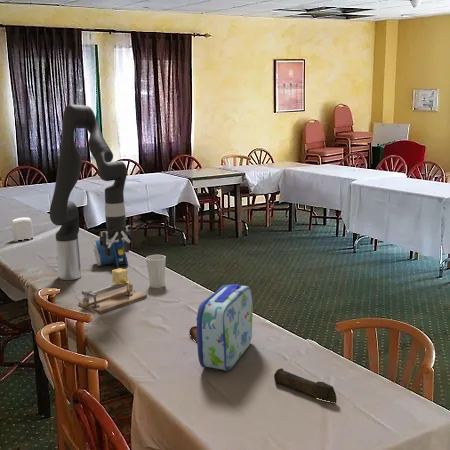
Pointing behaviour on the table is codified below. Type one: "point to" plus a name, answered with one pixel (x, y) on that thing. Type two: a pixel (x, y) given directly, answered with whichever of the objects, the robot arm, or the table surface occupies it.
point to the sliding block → (120, 277)
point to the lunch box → (224, 326)
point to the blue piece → (116, 253)
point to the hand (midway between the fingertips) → (117, 254)
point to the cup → (156, 270)
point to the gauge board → (110, 298)
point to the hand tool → (306, 385)
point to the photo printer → (22, 228)
